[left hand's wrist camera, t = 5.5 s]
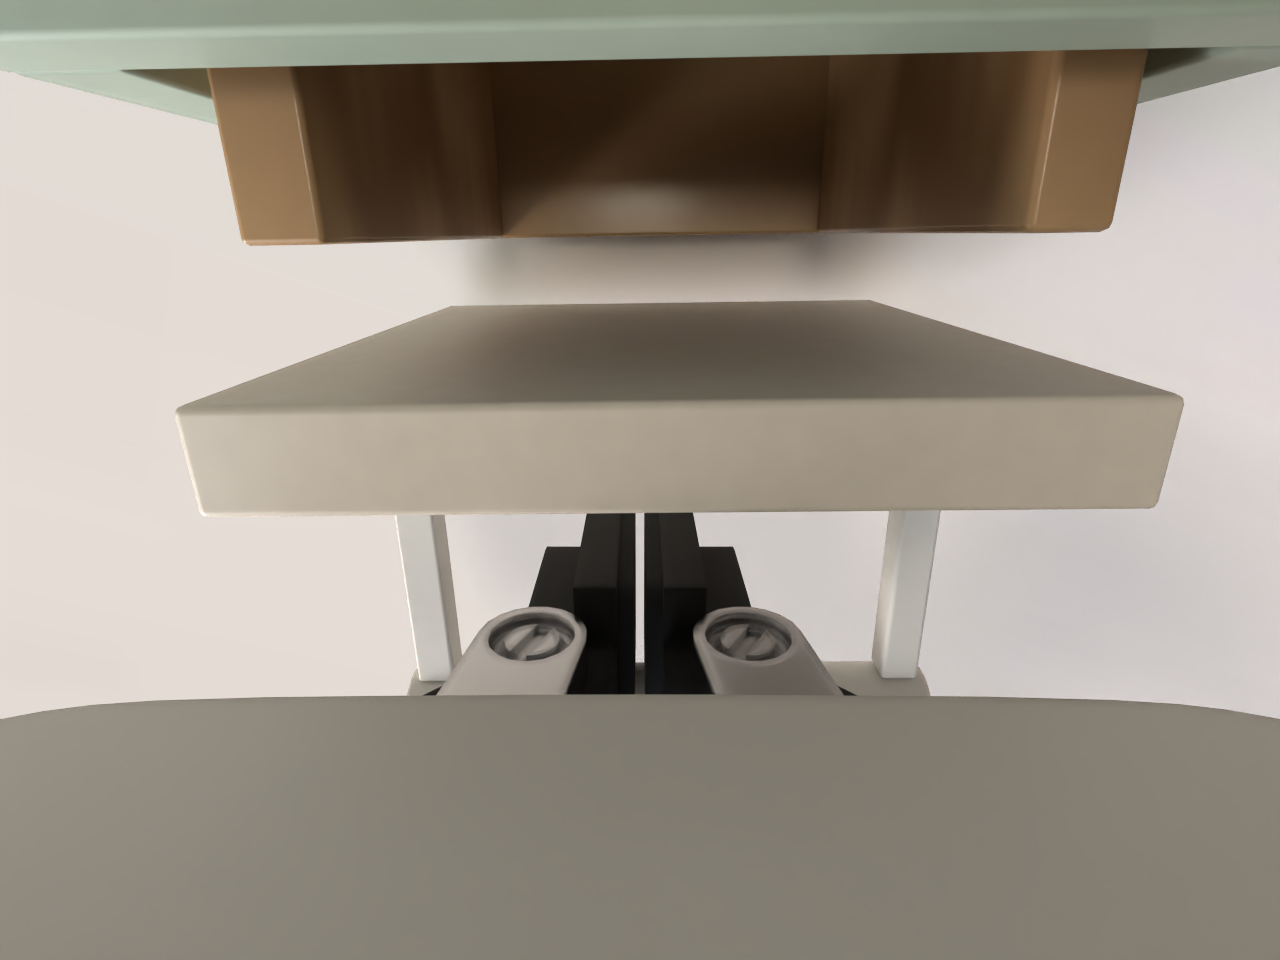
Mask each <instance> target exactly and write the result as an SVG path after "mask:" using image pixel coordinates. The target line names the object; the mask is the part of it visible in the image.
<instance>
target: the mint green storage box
mask: <svg viewBox="0 0 1280 960" xmlns="http://www.w3.org/2000/svg"><path fill="white" fill-rule="evenodd" d="M1146 48H1149V49H1148V53H1147V58H1146V63H1145V68H1144V73H1143V77H1142V82H1141V87H1140V92H1139V96H1138V101H1137V104H1138V103H1142V102H1146V101H1150V100H1153V99H1157V98H1161V97H1165V96H1169V95H1172V94H1176V93H1180V92H1184V91H1187V90H1191V89H1195V88H1199V87H1203V86H1206V85H1210V84H1214V83H1218V82H1222V81H1225V80H1229V79H1233V78H1237V77H1240V76H1244V75H1248V74H1252V73H1256V72H1259V71H1263V70H1267V69H1271V68H1274V67H1278V66H1280V0H0V70H2V71H6V72H14V73H16V74H19V75H21V76H25V77H29V78H33V79H37V80H41V81H45V82H49V83H53V84H57V85H61V86H65V87H69V88H73V89H77V90H81V91H85V92H89V93H93V94H97V95H101V96H105V97H109V98H113V99H117V100H121V101H125V102H129V103H133V104H137V105H141V106H145V107H149V108H153V109H157V110H161V111H165V112H169V113H173V114H177V115H181V116H185V117H189V118H193V119H197V120H201V121H205V122H209V123H213V124H217V125H218V122H217V117H216V112H215V107H214V102H213V98H212V93H211V88H210V83H209V78H208V73H207V68H226V67H275V66H323V65H372V64H420V63H468V62H517V61H565V60H614V59H662V58H711V57H759V56H807V55H856V54H904V53H953V52H1001V51H1050V50H1098V49H1146Z"/></svg>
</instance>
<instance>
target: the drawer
mask: <svg viewBox="0 0 1280 960" xmlns="http://www.w3.org/2000/svg"><path fill="white" fill-rule="evenodd" d="M1148 49H1149V48H1146V49H1098V50H1050V51H1001V52H953V53H904V54H856V55H807V56H759V57H711V58H662V59H614V60H565V61H517V62H468V63H420V64H372V65H323V66H275V67H226V68H207V73H208V78H209V83H210V88H211V93H212V98H213V102H214V107H215V112H216V117H217V122H218V127H219V132H220V137H221V141H222V146H223V151H224V156H225V161H226V166H227V171H228V176H229V181H230V185H231V190H232V195H233V200H234V205H235V210H236V215H237V220H238V224H239V229H240V234H241V239H242V241H243V242H244V243H245V244H248V245H250V246H257V245H320V244H348V243H377V242H405V241H433V240H461V239H489V238H537V237H599V236H661V235H723V234H785V233H1067V232H1100V231H1103V230H1105V229H1107V228H1109V227H1110V225H1111V223H1112V220H1113V216H1114V211H1115V206H1116V201H1117V196H1118V192H1119V187H1120V182H1121V177H1122V173H1123V168H1124V163H1125V158H1126V154H1127V149H1128V144H1129V139H1130V135H1131V130H1132V125H1133V120H1134V115H1135V111H1136V106H1137V101H1138V96H1139V92H1140V87H1141V82H1142V77H1143V73H1144V68H1145V63H1146V58H1147V53H1148ZM1183 406H1184V402H1183V398H1182V397H1181V396H1179V395H1177V394H1175V393H1172V392H1169V391H1165V390H1162V389H1159V388H1156V387H1152V386H1149V385H1146V384H1142V383H1139V382H1136V381H1133V380H1129V379H1126V378H1123V377H1120V376H1116V375H1113V374H1110V373H1106V372H1103V371H1100V370H1097V369H1093V368H1090V367H1087V366H1084V365H1080V364H1077V363H1074V362H1070V361H1067V360H1064V359H1061V358H1057V357H1054V356H1051V355H1047V354H1044V353H1041V352H1038V351H1034V350H1031V349H1028V348H1025V347H1021V346H1018V345H1015V344H1011V343H1008V342H1005V341H1002V340H998V339H995V338H992V337H989V336H985V335H982V334H979V333H975V332H972V331H969V330H966V329H962V328H959V327H956V326H953V325H949V324H946V323H943V322H939V321H936V320H933V319H930V318H926V317H923V316H920V315H917V314H913V313H910V312H907V311H903V310H900V309H897V308H894V307H890V306H887V305H884V304H881V303H877V302H874V301H871V300H844V301H775V302H705V303H636V304H567V305H497V306H450V307H447V308H445V309H442V310H439V311H437V312H434V313H431V314H429V315H426V316H423V317H420V318H418V319H415V320H412V321H410V322H407V323H404V324H401V325H399V326H396V327H393V328H391V329H388V330H385V331H383V332H380V333H377V334H374V335H372V336H369V337H366V338H364V339H361V340H358V341H356V342H353V343H350V344H347V345H345V346H342V347H339V348H337V349H334V350H331V351H328V352H326V353H323V354H320V355H318V356H315V357H312V358H310V359H307V360H304V361H301V362H299V363H296V364H293V365H291V366H288V367H285V368H283V369H280V370H277V371H274V372H272V373H269V374H266V375H264V376H261V377H258V378H256V379H253V380H250V381H247V382H245V383H242V384H239V385H237V386H234V387H231V388H228V389H226V390H223V391H220V392H218V393H215V394H212V395H210V396H207V397H204V398H201V399H199V400H196V401H193V402H191V403H188V404H185V405H183V406H181V407H179V408H177V410H176V412H175V418H176V422H177V426H178V430H179V434H180V438H181V441H182V445H183V449H184V453H185V457H186V461H187V465H188V469H189V472H190V476H191V480H192V484H193V488H194V492H195V496H196V499H197V503H198V507H199V511H200V512H201V514H202V515H203V516H206V517H249V516H359V515H395V521H396V527H397V534H398V540H399V547H400V554H401V560H402V567H403V573H404V580H405V587H406V593H407V600H408V606H409V613H410V619H411V626H412V633H413V639H414V646H415V652H416V659H417V666H418V668H417V669H416V671H415V672H414V674H413V677H412V679H411V682H410V685H409V689H408V693H407V696H422V695H424V694H426V693H428V692H430V691H432V690H435V689H437V688H439V687H441V686H443V684H444V683H445V681H446V680H447V678H448V677H449V675H450V674H451V672H452V671H453V669H454V668H455V666H456V665H457V663H458V662H459V661H460V659H461V658H462V653H461V645H460V637H459V629H458V621H457V612H456V604H455V596H454V588H453V580H452V572H451V564H450V556H449V548H448V540H447V532H446V524H445V516H444V515H470V514H580V513H691V512H801V511H889V517H888V526H887V534H886V542H885V551H884V559H883V567H882V575H881V584H880V592H879V600H878V609H877V617H876V625H875V634H874V642H873V650H872V660H873V661H843V662H822V663H823V665H824V666H825V668H826V669H827V671H828V672H829V674H830V675H831V677H832V678H833V680H834V681H835V683H836V684H837V686H839V687H841V688H843V689H845V690H847V691H849V692H851V693H853V694H855V695H857V696H930V693H929V689H928V685H927V682H926V680H925V677H924V675H923V673H922V671H921V669H920V668H919V667H918V660H919V653H920V646H921V639H922V633H923V626H924V619H925V613H926V606H927V599H928V592H929V586H930V579H931V572H932V565H933V559H934V552H935V545H936V539H937V532H938V525H939V518H940V512H941V510H1022V509H1133V508H1152V507H1154V506H1155V505H1156V504H1157V502H1158V500H1159V496H1160V492H1161V488H1162V485H1163V481H1164V477H1165V473H1166V470H1167V466H1168V462H1169V458H1170V455H1171V451H1172V447H1173V443H1174V440H1175V436H1176V432H1177V428H1178V425H1179V421H1180V417H1181V413H1182V410H1183ZM635 694H645V663H635Z"/></svg>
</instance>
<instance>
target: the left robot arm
mask: <svg viewBox="0 0 1280 960" xmlns="http://www.w3.org/2000/svg"><path fill="white" fill-rule="evenodd" d="M635 648H636V555H635V513H587V515H586V521H585V526H584V531H583V537H582V542H581V547H547V548H546V550H545V553H544V557H543V560H542V564H541V567H540V570H539V574H538V577H537V581H536V584H535V587H534V591H533V594H532V598H531V601H530V604H529V607H527V608H521V609H515V610H512V611H509V612H507V613H504V614H501V615H499V616H497V617H495V618H494V619H492V620H490V621H489V622H487V623H486V624H485V626H484V627H483V628H482V629H481V630H480V631H479V632H478V634H477V635H476V637H475V638H474V640H473V641H472V643H471V644H470V646H469V647H468V649H467V650H466V652H465V653H464V655H463V656H462V658H461V659H460V661H459V662H458V663H457V665H456V666H455V668H454V669H453V671H452V672H451V674H450V675H449V677H448V678H447V680H446V681H445V683H444V684H443V686H441V687H439V688H437V689H435V690H432V691H430V692H428V693H426V694H424V695H422V696H342V697H261V698H228V699H195V700H162V701H144V702H129V703H115V704H100V705H88V706H81V707H73V708H65V709H57V710H50V711H42V712H37V713H32V714H26V715H21V716H16V717H10V718H5V719H0V960H1280V719H1276V718H1271V717H1265V716H1259V715H1254V714H1248V713H1242V712H1236V711H1231V710H1224V709H1216V708H1207V707H1199V706H1190V705H1181V704H1167V703H1151V702H1134V701H1118V700H1088V699H1050V698H1012V697H950V696H857V695H855V694H853V693H851V692H849V691H847V690H845V689H843V688H841V687H839V686H837V684H836V683H835V681H834V680H833V678H832V677H831V675H830V674H829V672H828V671H827V669H826V668H825V666H824V665H823V663H822V662H821V661H820V659H819V658H818V656H817V655H816V653H815V652H814V650H813V649H812V647H811V646H810V644H809V643H808V641H807V640H806V638H805V637H804V635H803V634H802V632H801V631H800V630H799V629H798V628H797V627H796V626H795V624H794V623H793V622H791V621H790V620H788V619H786V618H785V617H783V616H781V615H779V614H776V613H773V612H771V611H768V610H765V609H759V608H753V607H751V605H750V601H749V598H748V595H747V591H746V588H745V584H744V581H743V578H742V574H741V571H740V567H739V564H738V561H737V557H736V554H735V551H734V548H733V547H699V543H698V537H697V532H696V527H695V521H694V516H693V512H691V513H644V661H645V694H635Z"/></svg>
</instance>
